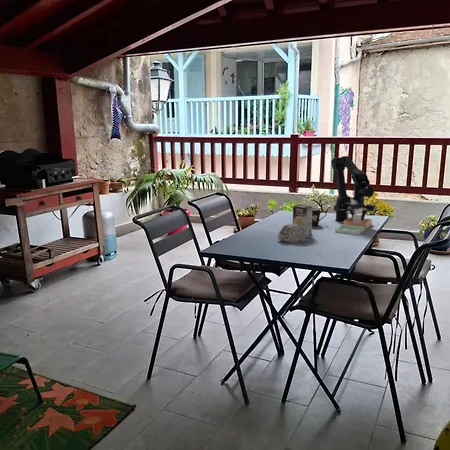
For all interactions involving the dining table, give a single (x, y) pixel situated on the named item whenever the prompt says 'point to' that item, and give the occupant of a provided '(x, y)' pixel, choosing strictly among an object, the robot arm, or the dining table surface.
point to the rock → (292, 233)
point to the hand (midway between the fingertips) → (357, 220)
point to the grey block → (357, 218)
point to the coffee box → (303, 217)
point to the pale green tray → (350, 229)
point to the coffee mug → (316, 216)
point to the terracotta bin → (365, 223)
